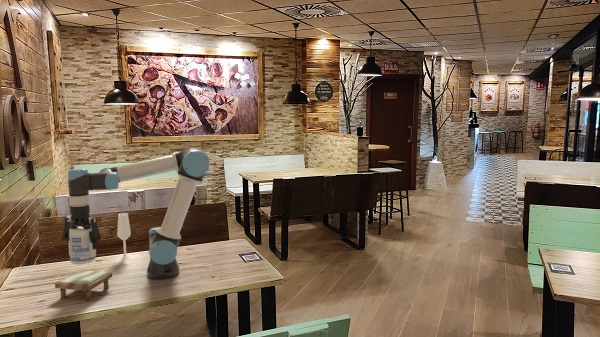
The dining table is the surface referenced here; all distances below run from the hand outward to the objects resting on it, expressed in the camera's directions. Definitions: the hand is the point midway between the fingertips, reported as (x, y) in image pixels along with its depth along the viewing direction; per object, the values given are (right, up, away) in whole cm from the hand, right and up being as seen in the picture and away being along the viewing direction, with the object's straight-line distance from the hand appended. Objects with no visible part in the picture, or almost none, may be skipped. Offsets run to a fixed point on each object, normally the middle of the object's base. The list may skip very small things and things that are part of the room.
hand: (82, 255), depth 188 cm
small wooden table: (0, -17, +2) cm, 17 cm away
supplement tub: (0, -3, 0) cm, 3 cm away
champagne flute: (-1, -11, +49) cm, 50 cm away
